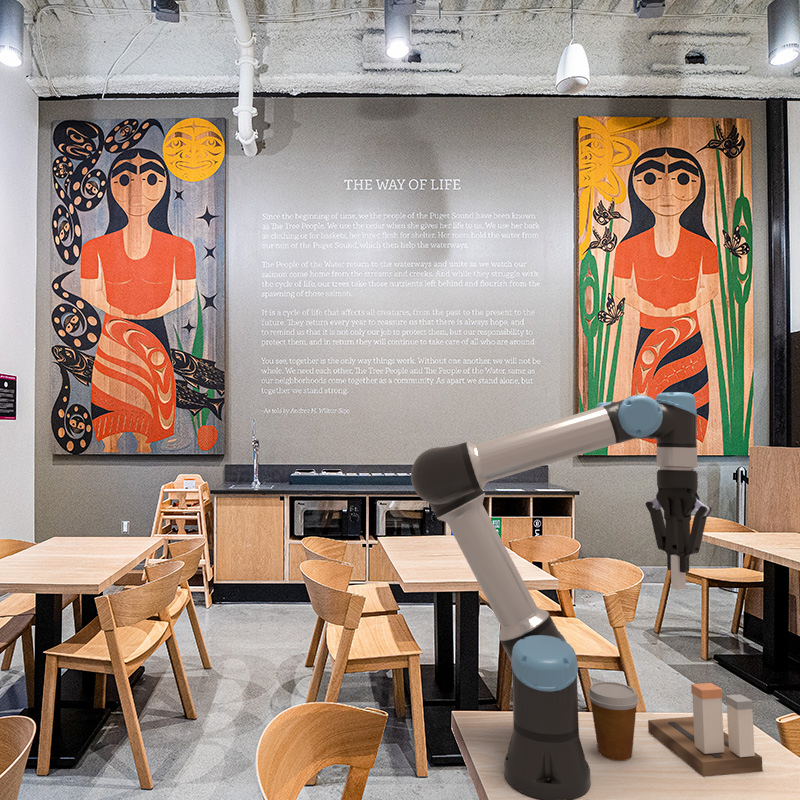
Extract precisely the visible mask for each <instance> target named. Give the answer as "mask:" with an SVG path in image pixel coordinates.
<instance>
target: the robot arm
mask: <svg viewBox="0 0 800 800" xmlns="http://www.w3.org/2000/svg"><path fill="white" fill-rule="evenodd" d="M696 401H697V400H696V397H695V395H693V394H692V393H689V392H684V391H683V392H682V391H680V392H679V391H677V392H676V391H675V392H674V391H673V392H669V391H668V392H660V393H657V394H656V396H655V399H654V398H653V397H651V396H647V395H644V394H643V395H642V394H636V395H634V394H633V395H632V396H628V397H626V398H625V399H622V400H618V401H609V402H607V401H606V402H605V401H604V402H598V404H597V405H596V407H595V408H592V409H589V410H585V411H582V412H579V413H575V414H572V415H569V416H566V417H565V416H564V417H562V418H559V419H556V420H552V421H549V422H546V423H542V424H539V425H536V426H532V427H530V428H526V429H522V430H519V431H516V432H513V433H509V434H505V435H503V436H499V437H496V438H493V439H490V440H486V441H482V442H480V443H477V444H476V443H473V442H470V441H466V442H462V443H458V444H454V445H448V446H441V447H438V446H437V447H432V448H429V449H427V450H425V451H423V452H422V453H420V454H419V455H418V456H417V458H416V459H415V461H414V462H413V465H412V467H411V471H410V479H411V485H412V487H413V490H414V491H415V493H416V494H417V495H418V496H419V498H421V499H422V501H423V500H424V501H425V502H426V503H428V504H429V506H430V508H431V510H432V512H433V513H434V515H435V517H436V519H437V520H439V521H442V522H444V523H446V524H447V525H448V527H449V530H450V531H451V533H452V535H453V536H454V539H455V541H456V542H457V545H458V547H459V548H460V550H461V552H462V554H463V557H464V558H465V560H466V561H467V563H468V566H469V567H470V569H471V571H472V573H473V575H474V577H475V579H476V581H477V583H478V585H479V587H480V589H481V591H482V592H483V594H484V596H485V598H486V601H487V602H488V604H489V607H490V609H491V611H493V614H494V616H495V618H496V620H497V622H498V623H499V626H500V630H499V633H498V640H499V641H500V644H501V646H502V647H503V649H504V651H505V654H506V655H507V656H508V659H509V661H510V663H511V664H510V667H511V670H512V672H511V673H512V674H511V675H512V677H511V678H512V718H513V722H512V724H513V725H512V726H513V729H512V734H511V737H510V741H509V745H508V749H507V753H506V755H505V758H504V778H505V780H506V782H507V783H508V784H509V785H510V786H511V787H512V788H513V789H515V790H517V791H519V792H520V793H522V794H524V795H527V796H530V797H533V798H536V799H541V800H572V799H576V798H579V797H581V796H583V795H585V794H586V793H587V792H588V791H589V790H590V787H591V769H590V765H589V763H588V761H587V760H586V756H585V753H584V752H585V750H584V747H583V744H582V742H581V738H580V735H579V734H580V728H579V727H580V726H579V698H578V697H579V696H578V695H579V694H578V692H579V691H578V672H579V664H578V660H577V653H576V651H575V650H574V647H572V645H571V644H570V643H568V642H567V640H566V638H565V636H564V635H563V634H562V633H561V631H559V630H558V628H557V626H556V624H555V623H554V620H553V619H552V616H551V615H550V613H549V611H547V610H545V609H543V608H540V607H538V606H537V604H536V602H535V601H534V598H533V597H532V595H531V593H530V591H529V589H528V587H527V586H526V584H525V581H524V580H523V577H522V575H521V574H520V573H519V570H518V569H517V567H516V565H515V563H514V560H513V559H512V557H511V555H510V554H509V552H508V550H507V548H506V545H505V544H504V542H503V540H502V538H501V536H500V535H499V533H498V531H497V529H496V527H495V525H494V523H493V521H492V520H491V517H490V516H489V514H488V512H487V510H486V508H485V506H484V505H483V504H484V499H485V496H486V493H485V491H484V488H485V487H486V484H487V483H489V482H492V481H496V480H499V479H503V478H505V477H509V476H512V475H516V474H519V473H522V472H527V471H529V470H533V469H537V468H540V467H542V466H546V465H550V464H553V463H556V462H560V461H564V460H567V459H569V458H573V457H576V456H580V455H583V454H587V453H590V452H594V451H596V450H600V449H603V448H607V447H610V446H613V445H618V444H621V443H625V442H629V441H632V440H635V439H636V440H637V439H638V440H639V439H640V440H642V439H646V440H653V439H654V440H655V442H656V466H657V467H658V468H659V469H657V471H656V487H657V492H656V495H655V498H653V499H652V500H650V501H646V502H645V507H646V508H647V510H648V513H649V514H650V520H651V524H652V528H653V531H654V537H655V542H656V546H657V549H658V550H661V551H664V552H665V553H666V555H667V556H666V563H667V565H666V566H667V569H668V571H670V586H671V587H670V588H671V589H672V590H678V591H679V590H685V589H686V588H687V587H686V586H687V585H686V583H687V582H686V580H687V579H686V578H687V577H686V575H687V573H689V572H690V556H691V555H694V554H698V553H700V549H701V545H702V541H703V536H704V532H705V527H706V523H707V518H708V517H709V515H710V513H711V512H712V511H713V509H712V507H711V506H710V505H705V504H704V503H703V502H701V501H700V497H699V495H698V488H699V483H698V481H699V480H698V479H699V478H698V477H699V475H698V472H697V471H696V470H695V469H696V468H697V467H698V447H697V446H698V444H697V443H698V440H697V437H698V436H697V435H698V433H697V432H698V429H697V427H698V426H697V425H698V423H697V422H698V414H697V413H698V412H697V403H696ZM661 508H662V510H661ZM662 511H663V512H662ZM693 511H694V512H695V514H694V515H693V521H692V525H691V520H692V512H693Z"/></svg>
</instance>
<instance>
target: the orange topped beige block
mask: <svg viewBox="0 0 800 800" xmlns="http://www.w3.org/2000/svg"><path fill="white" fill-rule="evenodd" d="M690 686H691V688H690V690H691V691H690V692H691V695H692V696H691V697H692V714H693V715H692V717H693V719H694V741H695V747H696V748H698V749H699V750H700V751H702V752H703V753H704V754H709V753H721V752H724V735H723V732H724V719H723V718H724V717H723V716H724V715H723V689H722V687H719V686H717V685H716V684H713V683H712V682H705V683H691V684H690Z"/></svg>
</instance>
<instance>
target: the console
mask: <svg viewBox="0 0 800 800" xmlns="http://www.w3.org/2000/svg"><path fill="white" fill-rule="evenodd" d="M647 724H648V725H647V726H648V733H649V734H650V735H651V736H652V735H653V736H652V737H654V739H656V740H657V741H658V742H660V743H661V744H662V745H664V747H666V748H667V749H668V750H670V751H671V752H672V753H673V754H674V755H676V756H677V757H678V758H680V759H681V760H682V761H683V762H685V764H687V765H688V766H689V767H691V768H692V769H693V770H694V771H695V772H697V773H698V774H699V775H701V776H702V777H714V776H723V775H725V776H727V775H734V774H735V775H736V774H745V773H747V774H748V773H757V772H764V771H763V756H761V755H760V754H758V753H757V752H755V756H748V757H739V756H738V755H736V754H735V753H733V752H732V751H730V750H729V740H728V733H726V732H725V731H723V735H724V752H721V753H709V754H704V753H703V752H702V751H700V750H699V749H698V748H696V747H695V741H694V719H693V716H682V717H672V718H657V719H648V720H647Z"/></svg>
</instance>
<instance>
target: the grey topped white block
mask: <svg viewBox="0 0 800 800" xmlns="http://www.w3.org/2000/svg"><path fill="white" fill-rule="evenodd" d="M725 704H726V715H727V717H726V718H727V734H728V740H729V750H730V751H732V752H733V753H735V754H736V755H738V756H739V757H748V756H755V753H756V752H755V750H756V749H755V735H754V732H755V731H754V716H753V709H754V700H752V699H750V698H748V697H746V696H745V695H742V694H728V695H727V694H726V695H725Z"/></svg>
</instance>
